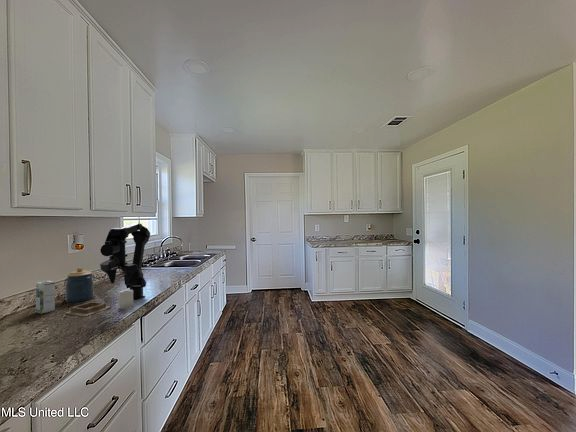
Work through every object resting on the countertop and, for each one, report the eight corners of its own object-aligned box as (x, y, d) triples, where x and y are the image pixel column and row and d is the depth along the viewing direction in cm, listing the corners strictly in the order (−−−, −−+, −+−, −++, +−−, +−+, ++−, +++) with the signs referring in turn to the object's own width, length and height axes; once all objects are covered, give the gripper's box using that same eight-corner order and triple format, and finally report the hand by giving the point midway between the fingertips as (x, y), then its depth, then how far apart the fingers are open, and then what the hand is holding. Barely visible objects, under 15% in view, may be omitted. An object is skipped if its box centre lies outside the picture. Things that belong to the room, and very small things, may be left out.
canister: (61, 303, 147) (61, 270, 148) (68, 297, 159) (68, 266, 159) (91, 300, 153) (91, 268, 153) (96, 294, 165) (95, 264, 165)
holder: (91, 305, 144) (91, 300, 144) (111, 307, 140) (110, 302, 140) (65, 313, 131) (65, 308, 131) (85, 316, 127) (85, 311, 127)
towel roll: (126, 304, 145) (126, 289, 145) (136, 305, 143) (136, 290, 143) (115, 308, 139) (115, 292, 139) (125, 309, 137) (125, 293, 137)
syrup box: (35, 312, 134) (35, 282, 134) (50, 308, 139) (50, 279, 140) (40, 314, 132) (40, 283, 132) (55, 310, 137) (55, 280, 137)
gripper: (89, 254, 134) (90, 286, 135) (117, 256, 128) (118, 290, 128) (111, 251, 145) (111, 281, 145) (138, 253, 138) (138, 284, 139)
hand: (119, 284), depth 139 cm, fingers open, 9 cm apart
